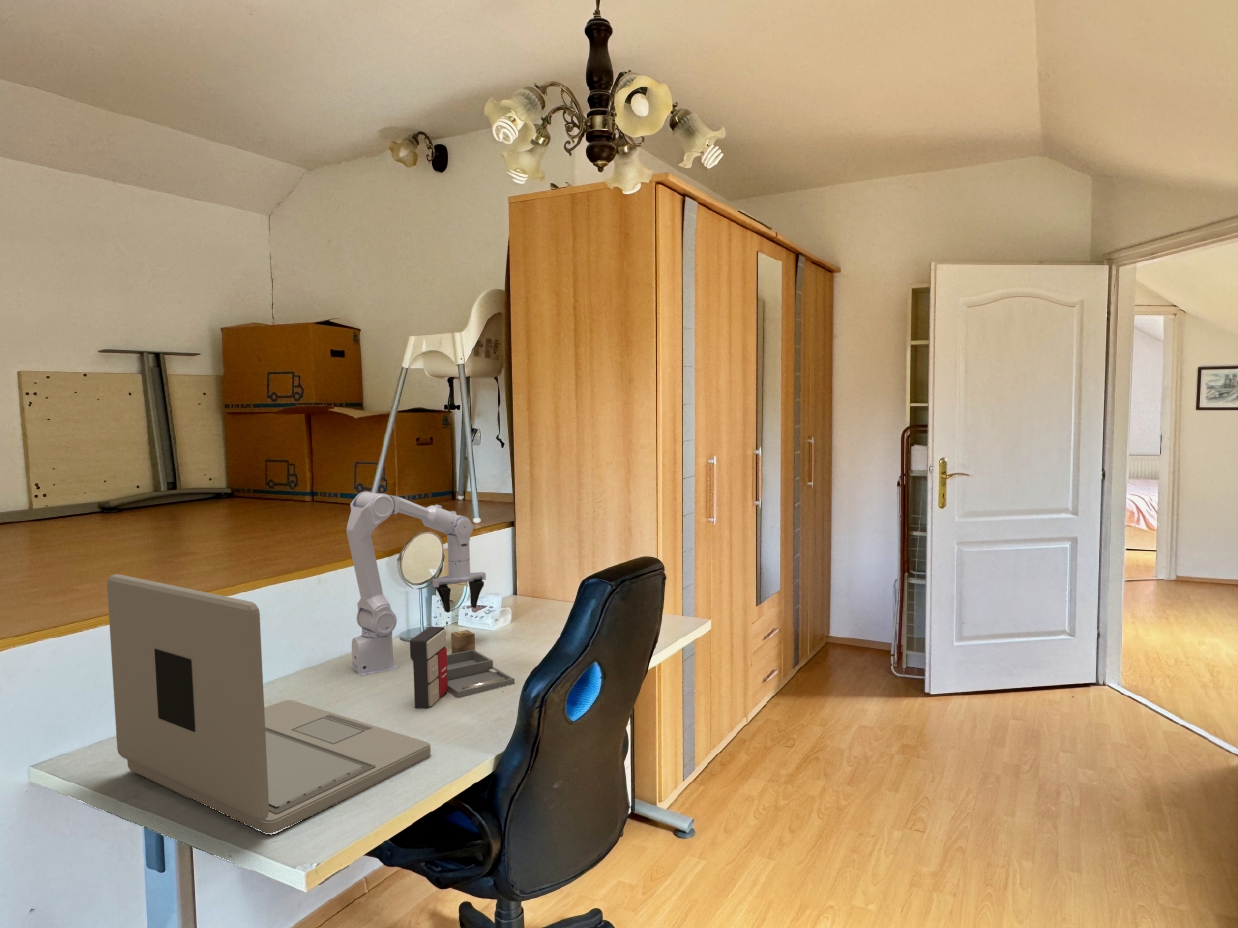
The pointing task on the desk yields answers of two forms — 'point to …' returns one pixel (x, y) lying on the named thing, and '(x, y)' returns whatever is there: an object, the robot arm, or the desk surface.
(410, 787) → the desk surface
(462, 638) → the module block
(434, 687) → the drawer chest
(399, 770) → the laptop
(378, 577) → the robot arm
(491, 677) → the case lid open
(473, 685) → the rod
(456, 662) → the case
